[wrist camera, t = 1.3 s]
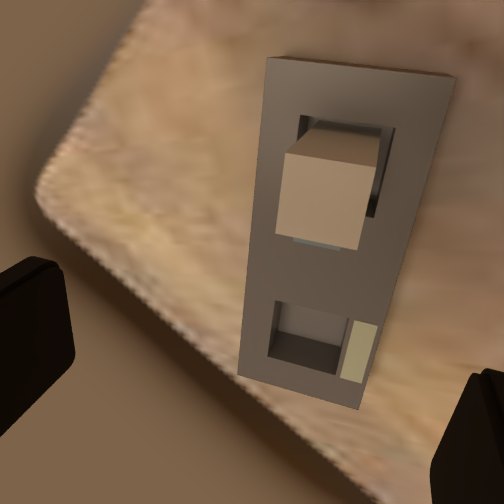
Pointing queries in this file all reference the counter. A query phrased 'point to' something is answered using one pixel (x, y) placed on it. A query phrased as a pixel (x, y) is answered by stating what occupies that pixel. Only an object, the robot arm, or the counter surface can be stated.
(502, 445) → the robot arm
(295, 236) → the plug
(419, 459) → the counter surface
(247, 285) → the socket block
